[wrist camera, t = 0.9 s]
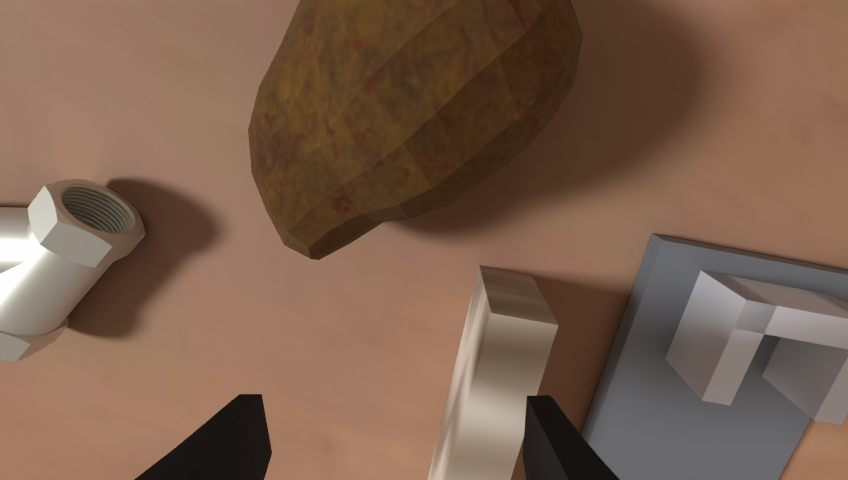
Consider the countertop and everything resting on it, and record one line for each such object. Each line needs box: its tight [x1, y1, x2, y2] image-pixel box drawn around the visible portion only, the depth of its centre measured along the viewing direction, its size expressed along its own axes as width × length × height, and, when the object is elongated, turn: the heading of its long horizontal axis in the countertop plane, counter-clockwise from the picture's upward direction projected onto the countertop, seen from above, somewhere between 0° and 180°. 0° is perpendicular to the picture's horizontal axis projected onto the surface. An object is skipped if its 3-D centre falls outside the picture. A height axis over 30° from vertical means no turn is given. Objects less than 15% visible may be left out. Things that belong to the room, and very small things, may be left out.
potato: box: [248, 0, 583, 260], centre depth 14 cm, size 8×12×9 cm
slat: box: [428, 266, 559, 480], centre depth 21 cm, size 14×2×5 cm, turn 169°
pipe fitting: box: [0, 179, 146, 362], centre depth 19 cm, size 8×4×7 cm
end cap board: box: [581, 234, 848, 480], centre depth 21 cm, size 20×10×4 cm, turn 169°
